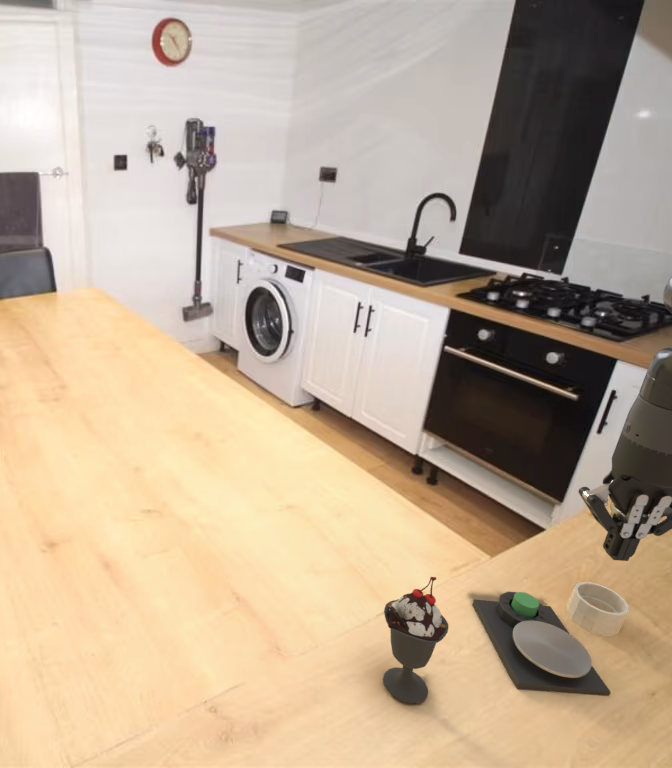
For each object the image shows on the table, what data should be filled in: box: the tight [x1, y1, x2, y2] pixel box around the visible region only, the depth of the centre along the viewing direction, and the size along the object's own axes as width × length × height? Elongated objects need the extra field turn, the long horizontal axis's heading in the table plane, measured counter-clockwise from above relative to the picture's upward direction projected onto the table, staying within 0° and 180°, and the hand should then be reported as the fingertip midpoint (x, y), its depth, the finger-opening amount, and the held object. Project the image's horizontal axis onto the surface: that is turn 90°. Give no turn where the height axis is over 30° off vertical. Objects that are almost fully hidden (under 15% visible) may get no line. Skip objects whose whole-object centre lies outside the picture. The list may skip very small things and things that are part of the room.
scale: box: [472, 591, 611, 697], centre depth 69 cm, size 10×13×3 cm
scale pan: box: [512, 620, 593, 678], centre depth 66 cm, size 8×8×1 cm
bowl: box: [565, 581, 631, 637], centre depth 73 cm, size 6×6×4 cm
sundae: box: [382, 576, 449, 704], centre depth 62 cm, size 7×7×15 cm
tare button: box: [511, 591, 540, 618], centre depth 72 cm, size 3×3×2 cm
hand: (615, 556), depth 69 cm, fingers closed
